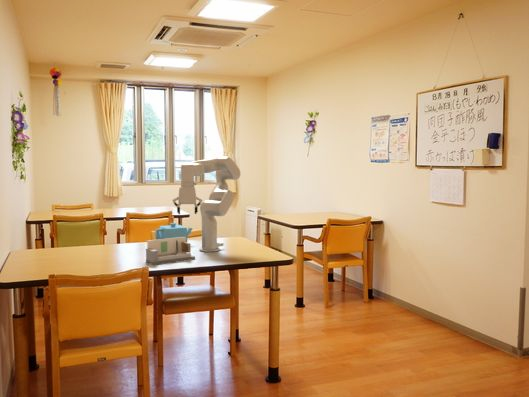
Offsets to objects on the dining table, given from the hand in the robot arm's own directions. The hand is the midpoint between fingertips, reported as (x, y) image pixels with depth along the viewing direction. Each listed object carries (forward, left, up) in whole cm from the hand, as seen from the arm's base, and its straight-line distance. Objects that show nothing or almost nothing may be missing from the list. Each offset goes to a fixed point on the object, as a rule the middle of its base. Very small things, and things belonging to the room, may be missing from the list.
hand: (187, 213), depth 294 cm
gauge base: (+13, +3, -26) cm, 29 cm away
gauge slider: (+6, +3, -24) cm, 25 cm away
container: (-11, -39, -26) cm, 48 cm away
